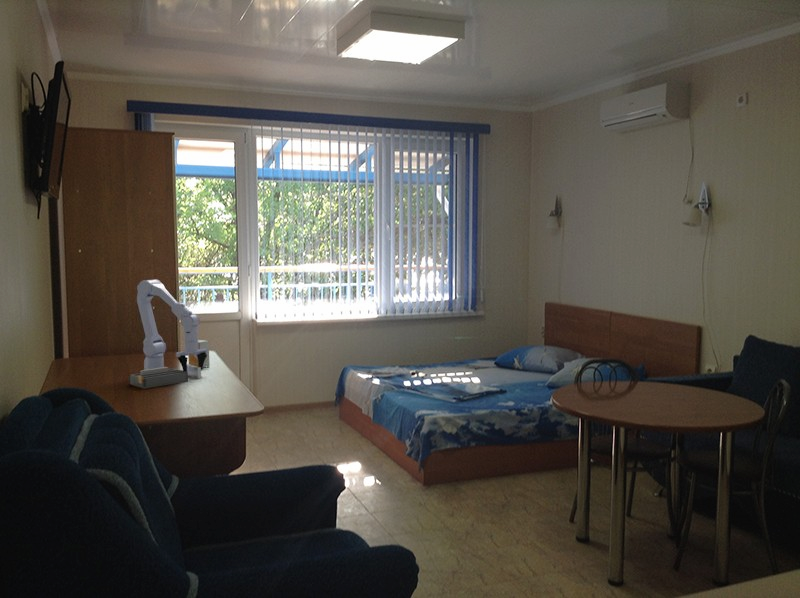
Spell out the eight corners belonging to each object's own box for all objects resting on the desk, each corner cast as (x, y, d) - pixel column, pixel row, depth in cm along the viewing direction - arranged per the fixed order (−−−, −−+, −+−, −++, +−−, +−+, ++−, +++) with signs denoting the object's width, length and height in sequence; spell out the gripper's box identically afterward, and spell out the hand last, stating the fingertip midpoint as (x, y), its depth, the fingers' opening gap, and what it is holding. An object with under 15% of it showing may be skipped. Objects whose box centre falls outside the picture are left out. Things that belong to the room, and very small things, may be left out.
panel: (185, 375, 311) (184, 364, 311) (188, 375, 313) (187, 364, 312) (198, 378, 303) (197, 367, 303) (201, 378, 304) (200, 367, 304)
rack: (129, 384, 292) (128, 371, 291) (173, 377, 306) (173, 365, 306) (142, 388, 282) (142, 375, 282) (188, 381, 297) (187, 368, 296)
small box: (188, 367, 331) (187, 341, 330) (198, 365, 337) (197, 339, 336) (200, 368, 327) (199, 342, 326) (210, 366, 333) (209, 340, 332)
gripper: (180, 343, 299) (182, 374, 300) (210, 340, 309) (211, 369, 310) (173, 342, 304) (174, 372, 305) (202, 338, 314) (204, 367, 315)
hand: (192, 370), depth 308 cm, fingers open, 7 cm apart
